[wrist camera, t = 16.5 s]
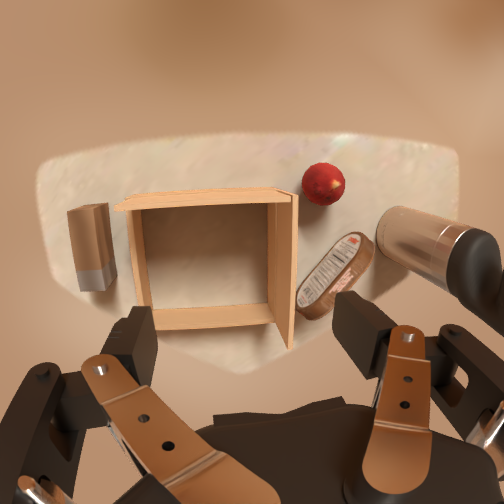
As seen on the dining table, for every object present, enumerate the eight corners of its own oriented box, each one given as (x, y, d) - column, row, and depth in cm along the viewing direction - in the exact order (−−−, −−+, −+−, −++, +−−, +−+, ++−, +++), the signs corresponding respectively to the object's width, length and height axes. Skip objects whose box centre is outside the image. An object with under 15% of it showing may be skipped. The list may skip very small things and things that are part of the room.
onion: (324, 207, 43) (347, 216, 35) (289, 194, 41) (308, 200, 34) (336, 171, 42) (362, 173, 34) (302, 156, 40) (324, 155, 33)
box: (108, 202, 38) (93, 208, 32) (117, 275, 41) (105, 290, 35) (84, 205, 37) (66, 211, 32) (94, 276, 40) (80, 291, 35)
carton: (272, 187, 41) (298, 195, 29) (272, 306, 46) (292, 349, 35) (134, 194, 38) (106, 205, 27) (149, 314, 43) (134, 359, 32)
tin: (298, 306, 47) (315, 332, 39) (285, 295, 46) (300, 321, 38) (358, 235, 45) (387, 249, 37) (346, 223, 44) (374, 235, 36)
